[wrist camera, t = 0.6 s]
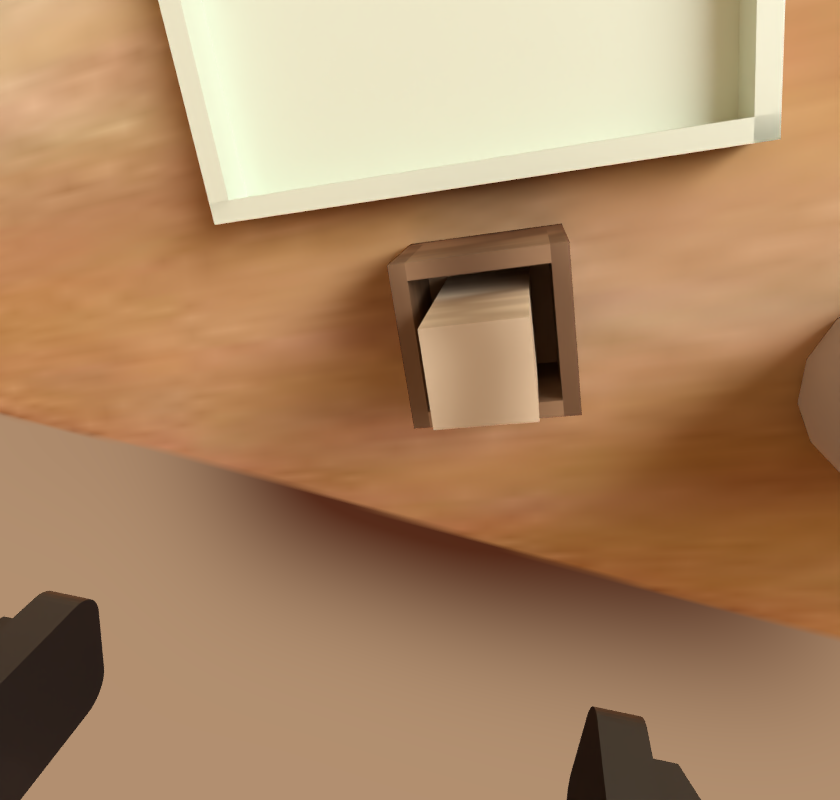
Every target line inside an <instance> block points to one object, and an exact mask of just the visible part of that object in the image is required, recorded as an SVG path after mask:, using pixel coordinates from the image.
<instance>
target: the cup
mask: <svg viewBox="0 0 840 800" xmlns="http://www.w3.org/2000/svg"><path fill="white" fill-rule="evenodd" d="M798 406H799V409H800V412H801V415H802V418H803V421H804V424H805V427H806V430H807V433H808V436H809V438H810V441H811V443H812V444H813V445H814V446H815V447H816V448H817V449H818V450H819V451H820V452H821V453H822V454H823V456H824V457H825V458H826V459H827V460H828V461H829V462H830V463H831V464H832V465H833V466H834V467H835V468H836V469H837V470H838V471H839V472H840V317H839V318H838V319H837V320H836V321H835V323H834V324H833V325H832V327H831V328H830V329H829V331H828V332H827V333H826V334H825V336H824V337H823V338H822V340H821V341H820V342H819V344H818V345H817V346H816V348H815V349H814V350H813V352H812V353H811V354H810V355H809V357H808V358H807V360H806V365H805V370H804V374H803V379H802V384H801V389H800V394H799V399H798Z"/></svg>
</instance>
